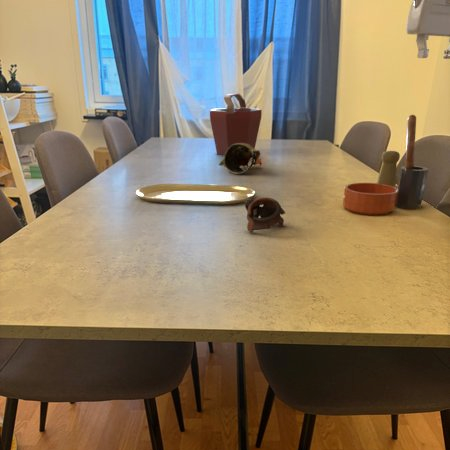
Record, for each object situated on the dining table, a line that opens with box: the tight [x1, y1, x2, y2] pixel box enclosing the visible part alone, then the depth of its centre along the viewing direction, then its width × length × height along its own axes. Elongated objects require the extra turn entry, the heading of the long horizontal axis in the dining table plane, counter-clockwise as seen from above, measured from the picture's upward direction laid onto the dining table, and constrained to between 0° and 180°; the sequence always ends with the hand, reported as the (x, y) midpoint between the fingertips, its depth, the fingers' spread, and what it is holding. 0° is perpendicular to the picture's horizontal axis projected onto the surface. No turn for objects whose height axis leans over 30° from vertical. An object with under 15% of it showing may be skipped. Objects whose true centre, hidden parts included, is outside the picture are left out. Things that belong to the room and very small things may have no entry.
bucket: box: [209, 92, 263, 157], centre depth 193 cm, size 24×22×25 cm
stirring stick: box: [405, 114, 417, 170], centre depth 113 cm, size 2×2×22 cm
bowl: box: [342, 182, 399, 216], centre depth 114 cm, size 13×13×6 cm
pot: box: [218, 143, 263, 175], centre depth 159 cm, size 17×11×18 cm
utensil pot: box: [396, 165, 429, 210], centre depth 115 cm, size 7×7×10 cm
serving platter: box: [135, 183, 256, 206], centre depth 127 cm, size 19×35×2 cm, turn 82°
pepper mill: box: [376, 150, 401, 188], centre depth 135 cm, size 6×6×11 cm
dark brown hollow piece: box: [244, 196, 286, 234], centre depth 100 cm, size 12×10×8 cm
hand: (435, 58), depth 101 cm, fingers open, 8 cm apart
